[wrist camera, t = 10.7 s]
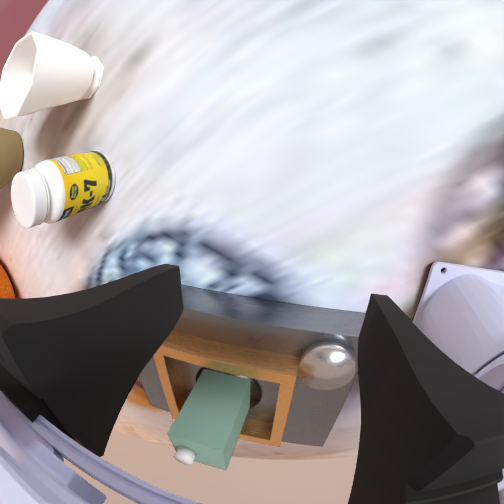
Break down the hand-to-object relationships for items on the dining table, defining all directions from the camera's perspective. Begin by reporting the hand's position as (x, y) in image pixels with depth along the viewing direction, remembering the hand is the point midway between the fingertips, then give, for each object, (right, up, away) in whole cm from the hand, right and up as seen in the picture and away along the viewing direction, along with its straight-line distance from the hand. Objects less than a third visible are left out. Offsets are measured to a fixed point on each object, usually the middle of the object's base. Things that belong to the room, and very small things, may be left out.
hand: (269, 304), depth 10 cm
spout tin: (-3, -10, +12) cm, 16 cm away
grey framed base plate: (-2, -9, +15) cm, 17 cm away
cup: (-17, +17, +8) cm, 25 cm away
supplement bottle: (-14, +8, +11) cm, 20 cm away
